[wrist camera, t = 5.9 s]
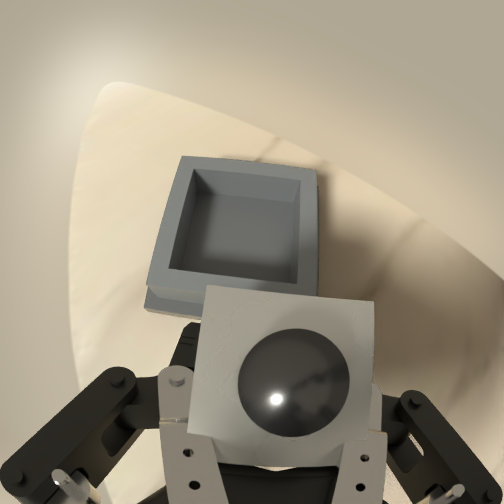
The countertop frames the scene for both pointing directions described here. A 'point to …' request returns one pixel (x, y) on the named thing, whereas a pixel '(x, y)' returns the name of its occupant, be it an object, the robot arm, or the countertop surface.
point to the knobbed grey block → (282, 376)
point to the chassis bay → (234, 233)
